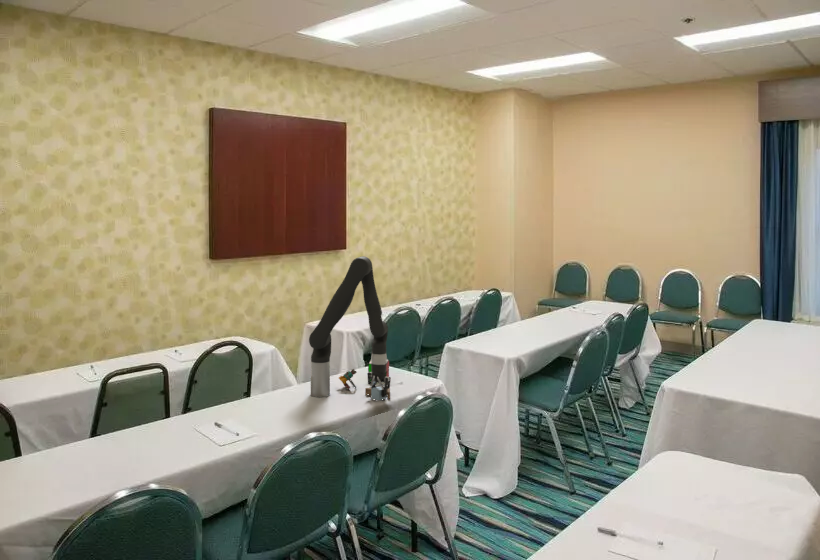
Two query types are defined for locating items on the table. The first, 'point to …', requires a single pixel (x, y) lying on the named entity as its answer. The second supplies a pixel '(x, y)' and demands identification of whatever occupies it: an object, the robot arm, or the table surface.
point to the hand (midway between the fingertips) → (378, 395)
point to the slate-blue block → (377, 393)
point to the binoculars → (348, 378)
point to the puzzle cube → (386, 371)
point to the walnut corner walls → (368, 391)
